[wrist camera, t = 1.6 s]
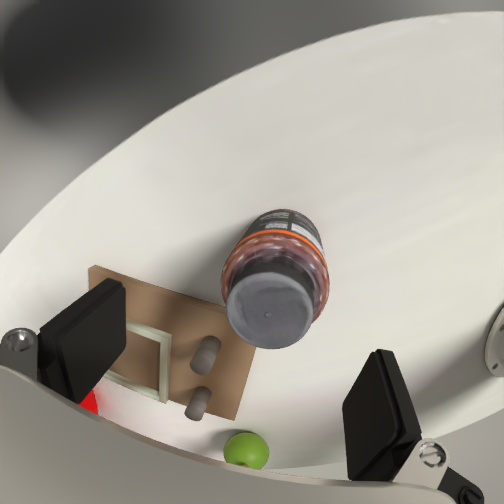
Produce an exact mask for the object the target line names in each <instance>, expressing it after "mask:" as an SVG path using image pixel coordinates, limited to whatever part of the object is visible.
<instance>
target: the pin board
mask: <svg viewBox="0 0 504 504" xmlns="http://www.w3.org/2000/svg"><path fill="white" fill-rule="evenodd" d="M88 272H89V291H90V290H91V289H92V288H94V287H95V286H97V285H98V284H99V283H101V282H102V281H103V280H105V279H106V278H111V279H114V280H117V281H120V282H122V284H123V287H125V289H126V339H127V344H126V347H125V350H124V351H123V352H122V354H121V355H120V356H119V357H118V358H117V360H116V361H115V362H114V363H113V364H112V366H111V367H110V368H109V369H108V370H107V372H106V373H105V374H104V375H103V377H105V378H107V379H109V380H111V381H113V382H116V383H118V384H120V385H122V386H124V387H126V388H129V389H131V390H133V391H135V392H138V393H140V394H142V395H145V396H147V397H150V398H152V399H155V400H157V401H160V402H162V403H165V404H166V402H167V401H168V399H169V400H171V401H174V402H177V403H179V404H182V405H185V406H187V408H186V410H185V415H186V417H187V418H189V419H191V420H193V421H200V420H201V419H202V417H203V414H204V412H206V413H209V414H212V415H216V416H219V417H222V418H226V419H229V420H233V421H234V420H235V417H236V414H237V410H238V407H239V404H240V401H241V397H242V394H243V391H244V387H245V384H246V381H247V377H248V374H249V370H250V367H251V364H252V360H253V357H254V353H255V350H256V347H255V346H253V345H251V344H249V343H247V342H245V341H244V340H243V339H241V338H240V337H239V336H238V335H237V334H236V333H235V332H234V331H233V329H232V328H231V326H230V324H229V322H228V319H227V316H226V307H223V306H219V305H216V304H212V303H209V302H206V301H202V300H199V299H196V298H192V297H189V296H186V295H183V294H180V293H176V292H173V291H170V290H167V289H164V288H161V287H158V286H155V285H152V284H149V283H146V282H143V281H140V280H137V279H134V278H131V277H128V276H125V275H122V274H119V273H117V272H114V271H111V270H108V269H105V268H103V267H100V266H97V265H94V266H92V267H91V268H89V269H88Z"/></svg>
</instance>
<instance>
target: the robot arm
mask: <svg viewBox="0 0 504 504" xmlns="http://www.w3.org/2000/svg"><path fill="white" fill-rule="evenodd" d="M126 344H127V339H126V289H125V287H123V284H122V282H120V281H117V280H114V279H111V278H106V279H105V280H103V281H102V282H101V283H99V284H98V285H97V286H95V287H94V288H92V289H91V290H90V291H88V292H87V293H86V294H84V295H83V296H82V297H80V298H79V299H78V300H76V301H75V302H74V303H72V304H71V305H70V306H68V307H67V308H66V309H64V310H63V311H62V312H60V313H59V314H58V315H56V316H55V317H54V318H53V319H51V320H50V321H49V322H47V323H46V324H45V325H44V326H42V327H41V328H40V333H39V334H38V335H36V334H35V332H33V331H32V330H30V329H27V328H15V329H12V330H10V331H8V332H7V333H6V334H5V335H4V336H3V338H2V340H1V344H0V504H484V496H483V493H482V491H481V490H480V489H479V488H478V487H477V486H476V485H474V484H473V483H471V482H470V481H468V480H467V479H465V478H464V477H462V476H461V475H459V474H458V473H457V472H455V471H454V470H452V469H451V468H449V467H448V464H449V461H450V456H449V452H448V450H447V448H446V447H445V446H444V445H443V444H442V443H441V442H440V441H438V440H436V439H432V438H425V439H422V437H421V433H422V432H421V429H420V425H419V422H418V419H417V416H416V413H415V410H414V407H413V404H412V402H411V399H410V396H409V393H408V390H407V388H406V385H405V382H404V379H403V377H402V374H401V371H400V369H399V366H398V364H397V361H396V359H395V356H394V353H393V352H392V351H388V350H383V349H377V350H376V351H375V352H372V353H371V354H370V355H369V357H368V359H367V361H366V363H365V365H364V367H363V368H362V370H361V372H360V374H359V376H358V378H357V379H356V381H355V383H354V385H353V386H352V388H351V390H350V391H349V393H348V395H347V397H346V398H345V400H344V402H343V406H342V412H343V422H344V433H345V444H346V457H347V470H348V471H347V472H348V478H349V480H352V481H345V480H332V479H320V478H310V477H300V476H293V475H286V474H279V473H273V472H268V471H262V470H257V469H252V468H247V467H243V466H238V465H234V464H230V463H226V462H222V461H218V460H214V459H211V458H207V457H204V456H200V455H197V454H194V453H190V452H187V451H184V450H181V449H178V448H175V447H172V446H169V445H167V444H164V443H161V442H159V441H156V440H153V439H151V438H148V437H146V436H143V435H141V434H138V433H136V432H133V431H131V430H129V429H126V428H124V427H122V426H120V425H118V424H115V423H113V422H111V421H109V420H107V419H105V418H103V417H101V416H99V415H97V414H95V413H93V412H91V411H89V410H87V409H85V408H83V407H81V406H80V405H78V404H80V403H82V401H83V400H84V399H85V398H86V396H87V395H88V394H89V393H90V391H91V390H92V389H93V388H94V386H95V385H96V384H97V383H98V382H99V380H100V379H101V378H102V377H103V375H104V374H105V373H106V372H107V370H108V369H109V368H110V367H111V366H112V364H113V363H114V362H115V361H116V360H117V358H118V357H119V356H120V355H121V354H122V352H123V351H124V350H125V347H126ZM485 362H486V365H487V367H488V369H489V370H490V372H491V373H492V374H493V375H495V376H497V377H504V307H503V309H502V310H501V312H500V313H499V315H498V316H497V318H496V320H495V322H494V324H493V326H492V328H491V331H490V333H489V336H488V339H487V342H486V347H485Z"/></svg>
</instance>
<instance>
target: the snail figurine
mask: <svg viewBox="0 0 504 504" xmlns="http://www.w3.org/2000/svg"><path fill="white" fill-rule="evenodd" d="M268 457H269V448H268V446H267V444H266V442H265V441H264V440H263V439H262V438H261V437H260V436H258V435H256V434H253V433H239V434H236V435H234V436H233V437H231V438H230V439H229V440H228V441H227V443H226V444H225V447H224V458H225V461H226V463H230V464H234V465H238V466H243V467H247V468H252V469H257V470H259V469H261V468H262V467H263V466H264V465H265V464H266V462H267V460H268Z"/></svg>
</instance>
